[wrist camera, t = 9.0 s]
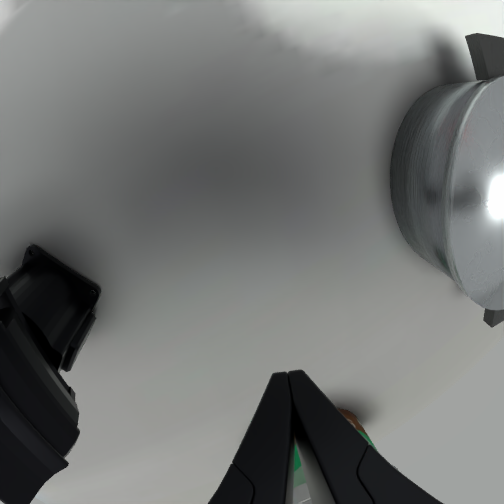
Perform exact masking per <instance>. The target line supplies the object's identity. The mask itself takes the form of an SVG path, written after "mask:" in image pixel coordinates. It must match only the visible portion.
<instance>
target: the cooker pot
mask: <svg viewBox="0 0 504 504" xmlns="http://www.w3.org/2000/svg"><path fill="white" fill-rule="evenodd" d="M465 38H466V41H467V44H468V48H469V51H470V55H471V58H472V62H473V66H474V70H475V74H476V78H477V80H489V79H491V78H493V77H496V76H499V75H504V38H502V37H497V36H492V35H486V34H480V33H475V34H471V35H467V36H465ZM484 82H486V81H476V82H465V83H455V84H447V85H441V86H438V87H436V88H433V89H432V90H430V91H428V92H426V93H425V94H424V95H423V96H421V97H420V98H419V99H418V100H417V101H416V102H415V104H414V105H413V106H412V107H411V108H410V110H409V112H408V113H407V115H406V116H405V118H404V120H403V122H402V124H401V127H400V129H399V132H398V135H397V138H396V141H395V144H394V149H393V154H392V161H391V170H390V186H391V198H392V203H393V209H394V213H395V216H396V219H397V223H398V225H399V227H400V230H401V232H402V234H403V236H404V237H405V239H406V241H407V242H408V244H409V245H410V246H411V247H412V249H413V250H414V251H415V252H416V253H417V254H418V255H420V256H421V257H422V258H423V259H425V260H426V261H428V262H429V263H431V264H432V265H433V266H435V267H436V268H438V269H439V270H440V271H442V272H443V273H445V274H446V275H447V276H449V277H450V278H451V279H453V280H454V278H453V276H452V273H451V271H450V269H449V265H448V262H447V259H446V255H445V249H444V244H443V236H442V225H441V201H442V185H443V178H444V170H445V164H446V159H447V154H448V149H449V145H450V142H451V139H452V135H453V132H454V129H455V126H456V124H457V121H458V119H459V116H460V114H461V112H462V110H463V108H464V106H465V104H466V103H467V101H468V100H469V98H470V97H471V95H472V94H473V93H474V91H475V90H476V89H477V88H478V87H479V86H480V85H482V84H483V83H484ZM454 281H455V280H454ZM483 321H485V322H486V323H487V324H488V325H489V326H490V327H494V326H495V325H497V324H499V323H500V322H502V321H504V309H503V310H489V309H486V308H485V313H484V319H483Z"/></svg>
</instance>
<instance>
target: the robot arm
mask: <svg viewBox="0 0 504 504" xmlns="http://www.w3.org/2000/svg"><path fill="white" fill-rule="evenodd" d="M31 250H33V252H34V254H33V253H32V252H31ZM91 290H93V291H95V292H96V294H93V293H92V291H91ZM100 294H101V290H100V288H99V287H98V286H97V285H95V284H94V283H92V282H90V281H89V280H87V279H86V278H84V277H82V276H81V275H79V274H78V273H76V272H74V271H73V270H71V269H70V268H68V267H67V266H65V265H64V264H62V263H61V262H59V261H58V260H56V259H55V258H53V257H52V256H50V255H49V254H47V253H46V252H44V251H43V250H42V249H40V248H39V247H37V246H36V245H30V246H29V247H28V248H27V249H26V252H25V256H24V259H23V262H22V266H21V267H20V268H18V269H17V270H16V271H15V272H14V273H12V274H11V275H10V276H9V277H8V278H7V279H6V277H5V276H4V277H2V278H0V500H1V501H2V502H3V503H4V504H30V503H31V501H32V500H33V498H34V497H35V495H36V494H37V492H38V491H39V490H40V488H41V487H42V486H43V485H44V483H45V482H46V481H47V480H49V479H50V478H51V477H52V476H53V475H54V474H56V473H57V472H59V471H61V470H63V469H64V468H66V467H67V466H68V464H69V463H68V462H67V461H66V460H65V459H64V458H65V457H66V456H67V455H68V454H69V452H70V451H71V449H72V448H73V446H74V445H75V443H76V441H77V439H78V437H79V434H80V430H79V429H78V428H77V426H78V418H79V411H78V408H77V404H76V402H75V392H74V391H73V389H72V388H71V387H69V386H68V385H67V384H66V382H65V381H64V379H63V378H62V377H61V375H60V374H59V373H60V371H61V369H62V370H64V371H66V372H68V371H70V370H71V368H72V366H73V364H74V362H75V360H76V358H77V356H78V354H79V352H80V350H81V349H82V347H83V345H84V343H85V341H86V339H87V337H88V335H89V332H90V330H91V328H92V326H93V323H94V321H95V319H96V317H95V314H93V313H92V312H93V309H94V307H95V305H96V303H97V301H98V299H99V296H100ZM294 436H295V437H294ZM295 442H296V446H297V450H298V454H299V457H300V461H301V465H302V468H303V472H304V476H305V479H306V483H307V487H308V490H309V494H310V497H311V501H312V504H443V503H442V502H440V501H438V500H437V499H435V498H434V497H433V496H431V495H430V494H428V493H427V492H426V491H424V490H423V489H422V488H420V487H419V486H418V485H416V484H415V483H413V482H412V481H411V480H409V479H408V478H407V477H405V476H404V475H403V474H402V473H400V472H399V471H398V470H397V469H396V468H394V467H393V466H392V465H391V464H390V463H389V462H387V460H386V459H384V457H382V456H381V455H380V454H379V453H378V452H377V450H376V449H375V448H374V447H373V446H372V445H371V444H369V442H368V441H367V440H366V439H365V438H364V437H363V436H362V435H361V434H360V433H359V431H358V430H357V429H356V428H355V427H354V426H353V425H352V424H351V423H350V422H349V421H348V420H347V419H346V417H345V416H344V415H343V414H342V413H341V412H340V411H339V410H338V409H337V408H336V407H335V405H334V404H333V403H332V402H331V401H330V400H329V399H328V398H327V397H326V395H325V394H324V393H323V392H322V391H321V390H320V389H319V388H318V387H317V385H316V384H315V383H314V382H313V381H312V380H311V379H310V378H309V376H308V375H307V374H306V373H305V372H304V371H303V370H293V371H289V372H288V373H287V372H277V373H273V374H272V376H271V378H270V380H269V383H268V385H267V387H266V390H265V392H264V394H263V396H262V399H261V401H260V403H259V405H258V408H257V410H256V412H255V414H254V416H253V419H252V421H251V423H250V425H249V427H248V429H247V432H246V434H245V436H244V438H243V440H242V442H241V444H240V446H239V449H238V451H237V453H236V455H235V457H234V459H233V461H232V463H233V464H231V465H230V467H229V469H228V471H227V473H226V475H225V477H224V478H223V480H222V482H221V484H220V486H219V487H218V489H217V491H216V492H215V494H214V495H213V497H212V498H211V500H210V501H209V502H208V504H293V489H294V461H295Z"/></svg>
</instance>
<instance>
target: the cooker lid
mask: <svg viewBox="0 0 504 504" xmlns="http://www.w3.org/2000/svg"><path fill="white" fill-rule="evenodd" d="M441 225H442V236H443V244H444V249H445V255H446V259H447V262H448V265H449V269H450V271H451V273H452V276H453V278H454V280H455V282H456V283H457V285H458V286H459V288H460V289H461V290H462V291H463V292H464V293H465V294H466V295H467V296H468V297H469V298H470V299H472V300H473V301H474V302H475V303H477V304H478V305H480V306H482V307H483V308H486V309H489V310H503V309H504V75H499V76H496V77H493V78H491V79H489V80H487V81H486V82H484V83H483V84H482V85H480V86H479V87H478V88H477V89H476V90H475V91H474V93H473V94H472V95H471V97H470V98H469V100H468V101H467V103H466V104H465V106H464V108H463V110H462V112H461V114H460V116H459V119H458V121H457V124H456V126H455V129H454V132H453V135H452V139H451V142H450V145H449V149H448V154H447V159H446V164H445V170H444V178H443V185H442V201H441Z"/></svg>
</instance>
